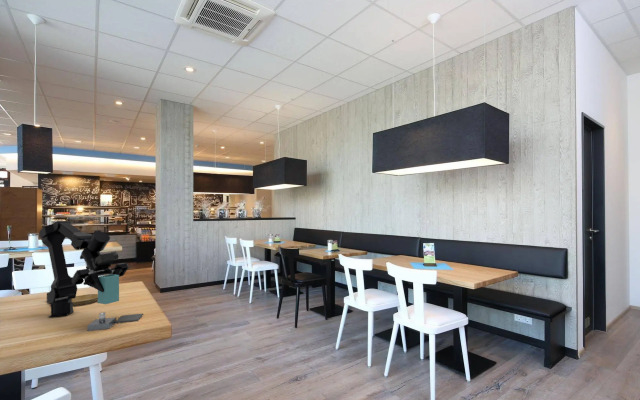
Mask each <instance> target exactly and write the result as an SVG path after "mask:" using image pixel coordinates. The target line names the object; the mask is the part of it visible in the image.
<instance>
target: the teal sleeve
mask: <svg viewBox="0 0 640 400" xmlns="http://www.w3.org/2000/svg"><path fill="white" fill-rule="evenodd" d="M98 279H99V280H100V282H101V284H102V286H103V288H104V292H101V291H99V290H97V294H98V300H97V304H102V305H109V304H112V303H116V302H117V303H118V302H120V277H119V275H113V274H110V275H103V276H98Z"/></svg>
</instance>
